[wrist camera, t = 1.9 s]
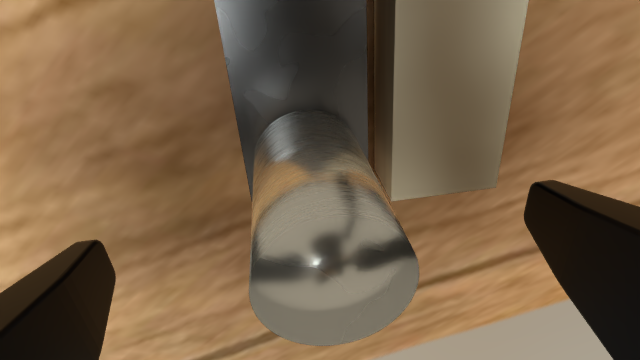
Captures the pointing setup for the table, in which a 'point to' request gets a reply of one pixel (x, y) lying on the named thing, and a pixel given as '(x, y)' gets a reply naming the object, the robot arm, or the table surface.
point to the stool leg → (313, 172)
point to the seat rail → (443, 92)
